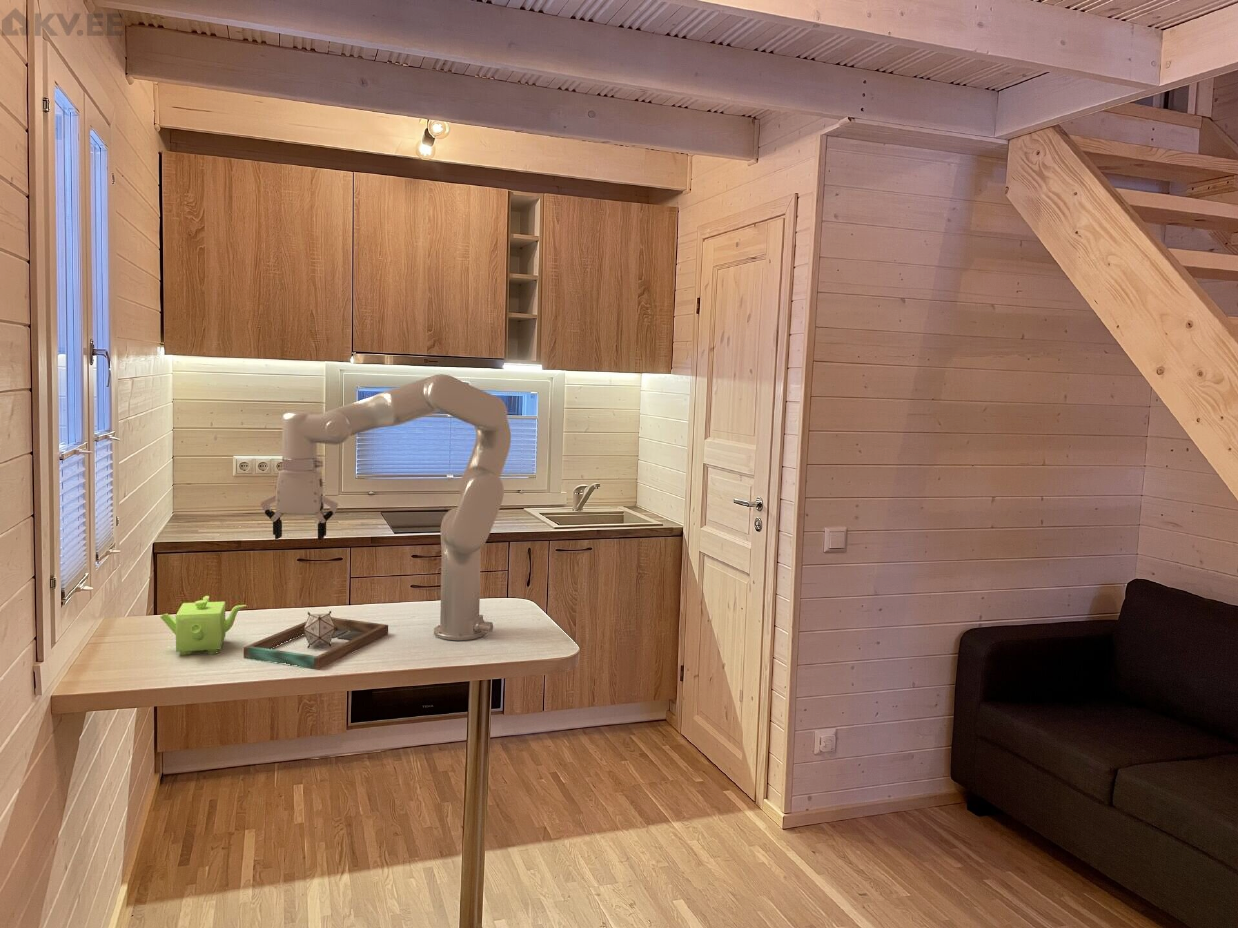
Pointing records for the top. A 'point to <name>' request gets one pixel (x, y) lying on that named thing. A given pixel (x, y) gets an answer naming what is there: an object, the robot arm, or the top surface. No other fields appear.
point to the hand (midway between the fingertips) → (299, 538)
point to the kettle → (200, 625)
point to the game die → (319, 629)
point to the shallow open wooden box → (358, 637)
